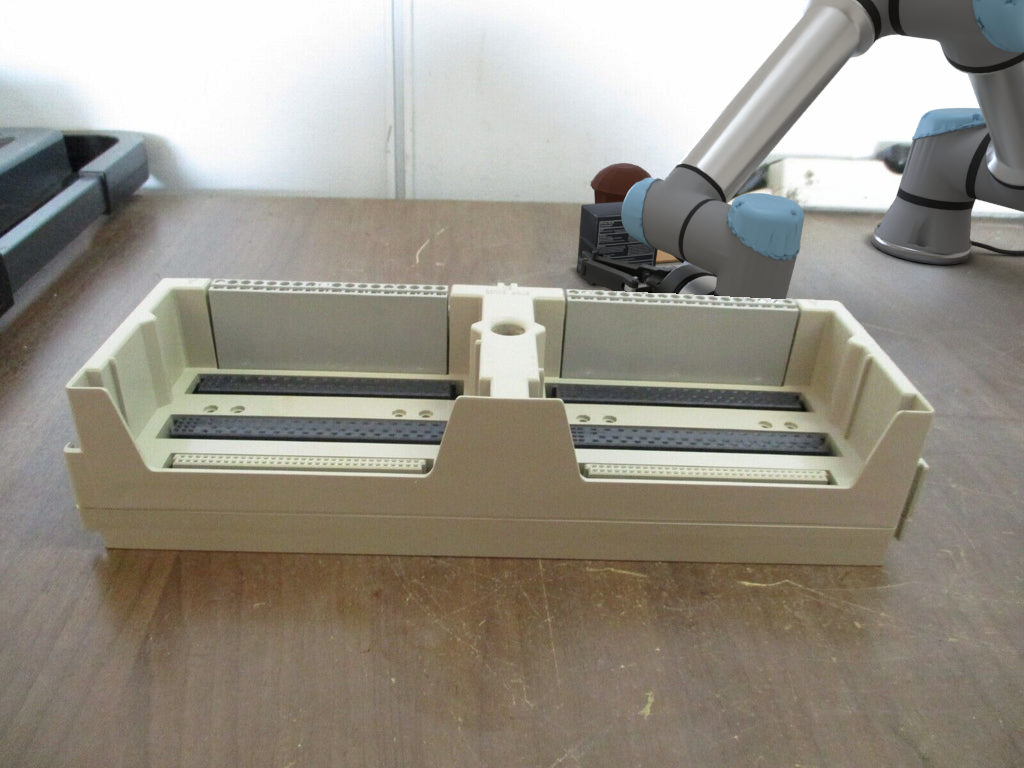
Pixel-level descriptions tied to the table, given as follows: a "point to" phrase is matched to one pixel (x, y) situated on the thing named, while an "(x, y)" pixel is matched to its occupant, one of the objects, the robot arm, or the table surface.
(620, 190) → the muffin
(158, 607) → the table surface
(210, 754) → the table surface
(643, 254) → the small box
